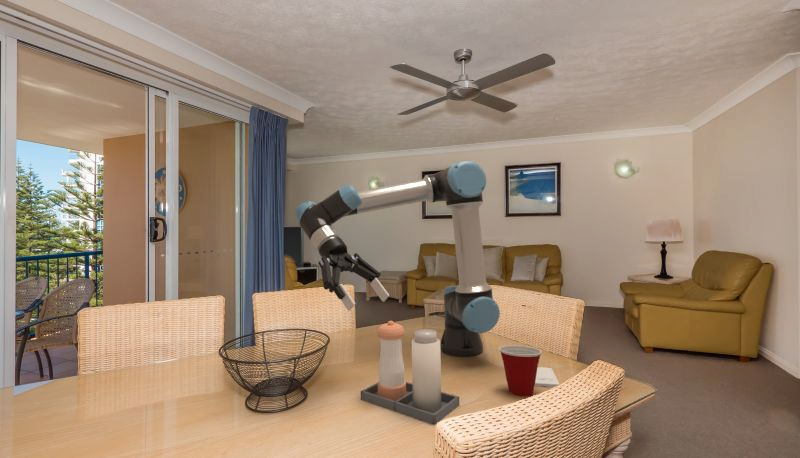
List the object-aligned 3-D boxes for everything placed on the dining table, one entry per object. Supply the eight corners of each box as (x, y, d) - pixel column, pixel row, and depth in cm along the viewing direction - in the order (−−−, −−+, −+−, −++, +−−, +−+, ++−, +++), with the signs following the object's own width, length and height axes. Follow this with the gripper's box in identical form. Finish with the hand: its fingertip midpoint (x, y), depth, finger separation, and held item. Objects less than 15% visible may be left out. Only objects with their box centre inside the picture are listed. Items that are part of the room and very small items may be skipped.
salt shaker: (423, 398, 95) (421, 326, 95) (446, 406, 91) (445, 330, 91) (407, 409, 89) (405, 333, 89) (431, 417, 85) (430, 337, 85)
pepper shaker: (410, 393, 98) (409, 319, 98) (398, 405, 92) (397, 325, 92) (385, 388, 101) (384, 316, 101) (372, 399, 95) (371, 323, 95)
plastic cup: (542, 388, 102) (541, 343, 102) (543, 406, 92) (542, 356, 92) (500, 383, 106) (500, 340, 106) (497, 400, 95) (496, 352, 95)
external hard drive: (551, 373, 114) (560, 390, 102) (523, 371, 116) (528, 388, 104) (551, 367, 114) (560, 384, 102) (523, 366, 116) (528, 382, 104)
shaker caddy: (388, 387, 104) (388, 376, 104) (459, 409, 91) (459, 396, 91) (360, 403, 95) (360, 391, 95) (434, 429, 82) (434, 415, 82)
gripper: (353, 251, 121) (391, 303, 112) (287, 257, 101) (327, 321, 92) (365, 234, 117) (405, 287, 108) (300, 237, 98) (342, 301, 89)
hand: (370, 302), depth 100 cm, fingers open, 13 cm apart
